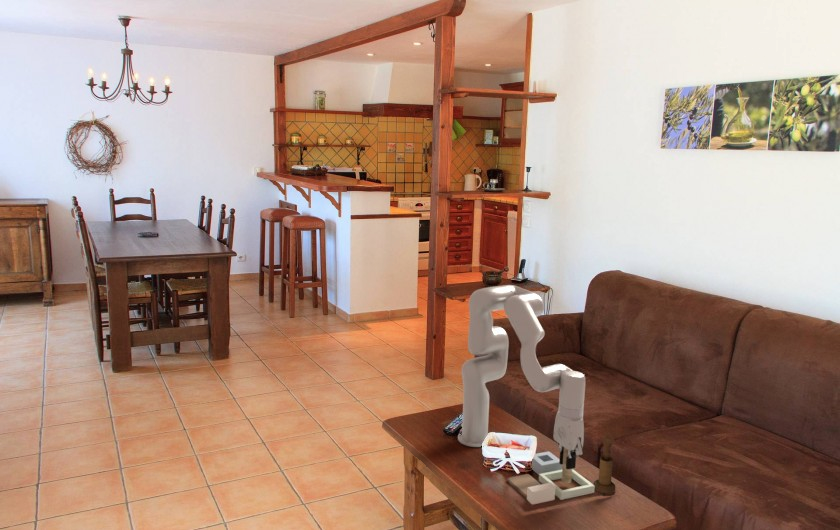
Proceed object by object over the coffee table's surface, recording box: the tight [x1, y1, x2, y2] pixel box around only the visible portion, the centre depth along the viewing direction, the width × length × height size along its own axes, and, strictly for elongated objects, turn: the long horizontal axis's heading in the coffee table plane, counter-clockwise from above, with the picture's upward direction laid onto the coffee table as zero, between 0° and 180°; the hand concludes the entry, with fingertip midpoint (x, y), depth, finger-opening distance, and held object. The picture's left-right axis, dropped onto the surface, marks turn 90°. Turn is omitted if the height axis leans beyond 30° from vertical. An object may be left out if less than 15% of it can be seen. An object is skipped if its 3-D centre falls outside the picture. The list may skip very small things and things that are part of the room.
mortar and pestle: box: [593, 436, 616, 497], centre depth 201 cm, size 7×6×18 cm
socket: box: [531, 450, 563, 476], centre depth 213 cm, size 8×8×5 cm
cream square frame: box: [538, 468, 595, 501], centre depth 202 cm, size 12×12×3 cm
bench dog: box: [526, 483, 556, 505], centre depth 194 cm, size 3×8×5 cm, turn 112°
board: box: [506, 473, 542, 499], centre depth 201 cm, size 12×8×2 cm, turn 24°
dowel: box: [561, 448, 574, 484], centre depth 201 cm, size 3×3×12 cm
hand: (567, 465), depth 201 cm, fingers closed on dowel, 2 cm apart
